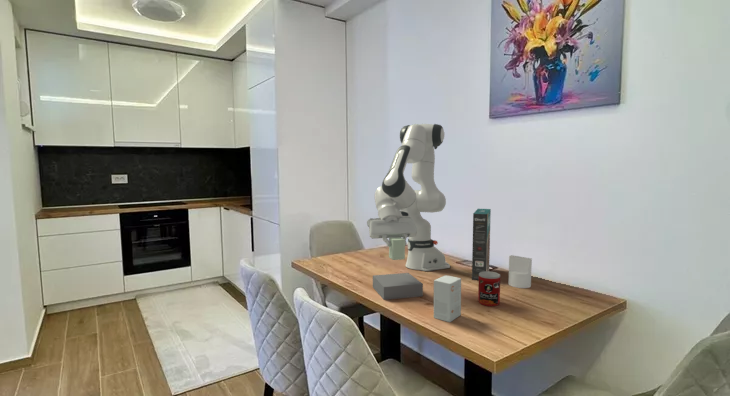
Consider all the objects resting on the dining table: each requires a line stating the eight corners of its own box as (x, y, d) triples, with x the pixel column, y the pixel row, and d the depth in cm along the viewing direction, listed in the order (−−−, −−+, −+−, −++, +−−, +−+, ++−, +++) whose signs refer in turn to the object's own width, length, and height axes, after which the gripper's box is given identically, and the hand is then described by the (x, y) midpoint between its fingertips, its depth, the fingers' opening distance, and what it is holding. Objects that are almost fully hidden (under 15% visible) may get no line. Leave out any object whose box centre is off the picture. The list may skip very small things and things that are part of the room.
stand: (408, 284, 164) (408, 272, 164) (422, 296, 149) (422, 283, 148) (372, 287, 160) (372, 275, 160) (383, 299, 145) (383, 287, 144)
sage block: (400, 256, 156) (400, 237, 156) (404, 259, 151) (405, 239, 151) (388, 257, 155) (389, 237, 154) (392, 260, 150) (393, 240, 150)
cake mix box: (485, 281, 168) (487, 214, 166) (471, 279, 171) (473, 213, 168) (489, 268, 189) (490, 209, 186) (476, 267, 191) (477, 208, 188)
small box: (444, 310, 134) (445, 274, 133) (461, 315, 130) (461, 278, 128) (432, 317, 127) (433, 280, 126) (450, 322, 123) (450, 283, 122)
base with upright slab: (534, 284, 163) (534, 257, 162) (526, 289, 157) (527, 261, 156) (513, 280, 169) (514, 254, 168) (504, 285, 163) (505, 257, 162)
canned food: (477, 305, 139) (477, 275, 138) (479, 298, 147) (479, 270, 146) (499, 307, 136) (499, 278, 135) (500, 300, 144) (500, 272, 143)
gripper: (367, 214, 157) (373, 241, 148) (413, 213, 162) (422, 239, 153) (364, 223, 161) (370, 250, 152) (409, 222, 166) (418, 248, 158)
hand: (397, 245), depth 153 cm, fingers closed on sage block, 5 cm apart
